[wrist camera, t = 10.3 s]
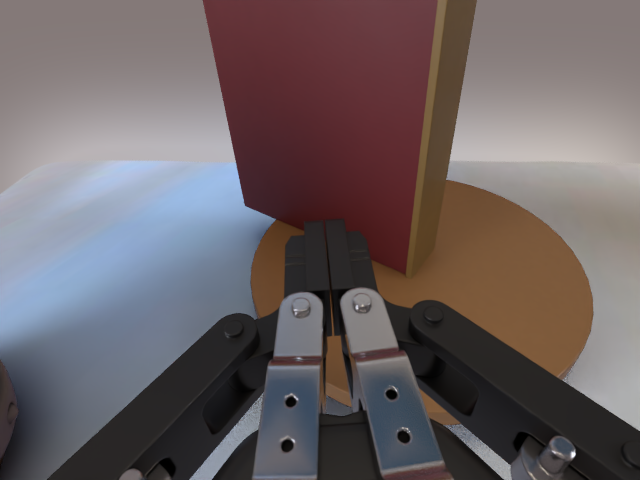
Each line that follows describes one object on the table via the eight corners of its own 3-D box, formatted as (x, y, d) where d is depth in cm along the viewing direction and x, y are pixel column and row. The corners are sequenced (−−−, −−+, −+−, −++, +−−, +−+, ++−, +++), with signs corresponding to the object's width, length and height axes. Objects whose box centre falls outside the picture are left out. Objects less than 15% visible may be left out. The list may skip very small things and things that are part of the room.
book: (612, 241, 27) (772, -59, 17) (529, 529, 15) (904, 103, 5) (329, 156, 39) (321, -57, 28) (153, 283, 27) (24, -6, 16)
